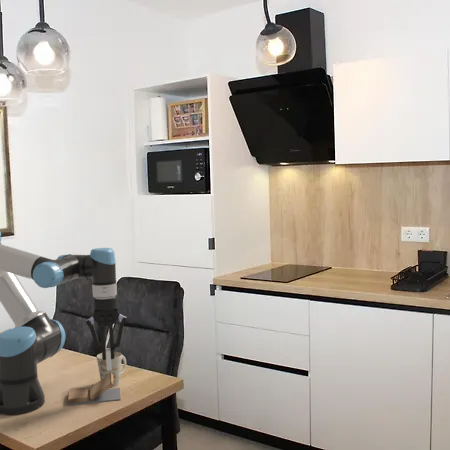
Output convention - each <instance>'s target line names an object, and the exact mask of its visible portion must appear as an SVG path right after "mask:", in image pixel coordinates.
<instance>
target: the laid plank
mask: <svg viewBox="0 0 450 450" xmlns="http://www.w3.org/2000/svg"><path fill="white" fill-rule="evenodd" d="M90 390H91V389H89V387H79V388H69V392H68V398H67V399H68V400H67V404H68V403H78V402H88V401H89V397H90Z"/></svg>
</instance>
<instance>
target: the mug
mask: <svg viewBox="0 0 450 450" xmlns="http://www.w3.org/2000/svg"><path fill="white" fill-rule="evenodd" d="M114 356H115V358H114V359H111V368H112V370H109V371H107V366H106V360H103V359H102V352H101V353H98V354H97V355H96V361H97V367H98V373H99V379H100V380H102V379H103V378H104V377H106V376H107V375H109V374H110V373H112V374H113V382H114V385H113V386H112V387H116V386H118V385H119V384H120V383H121V380H120V379H121V376H122V375H123V374H124V372H126V371H125V370H126V368H127V359H126V357H125V356H124V355H123V354H122V353H121V352H119V351H114ZM122 362H123V366H122ZM112 387H111V388H112Z"/></svg>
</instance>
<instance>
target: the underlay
mask: <svg viewBox="0 0 450 450" xmlns="http://www.w3.org/2000/svg"><path fill="white" fill-rule="evenodd" d="M116 401H118V402H119V401H121V387H114V388H112V387H110V388H109V389H107V390H106V391H104V392H103V393H102V394H100V395H99V396H97V397H96V398H95V399H93V400H92V399H91V398H90V397H89V401H88V402H78V403H68V402H67V405H68V406H73V405H76V406H77V405H86V404H95V403H96V404H97V403H104V402H106V403H108V402H116Z"/></svg>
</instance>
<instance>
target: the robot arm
mask: <svg viewBox="0 0 450 450" xmlns="http://www.w3.org/2000/svg"><path fill="white" fill-rule="evenodd" d="M1 236H2V232H1V231H0V304H1V305H2V307H3V308H4V310H5V311H6V313H7V314H8V317H10V319H11V320H12V322H13V324H14V326H15V327H12V328H8V329H6V330H3V331H2V332H0V415H7V416H8V415H21V414H26V413H30V412H32V411H35V410H37V409H39V408H41V407H42V406H43V405H44V404H45V402H46V399H45V393H44V391H43V388H42V386H41V383H40V381H39V378H38V377H39V376H38V364H39V363H41V362H43V361H44V360H47V359H49V358H51V357H53V356H54V355H56V354H57V353H59V352H60V351H61V349H63V347H64V345H65V344H66V343H65V342H66V332H65V331H66V330H65V329H64V327H63V325H62V324H61V322H59V321H58V320H55V319H52V318H50V317H49V316H48V314H47V313H46V312H45V311H43V310H42V311H41V310H39V309H38V307H37V306H36V305H35V303H34V302H33V300H32V298H31V297H30V295H29V294H28V292H27V291H26V288H24V285H23V284H22V282H21V281H20V279H19V278H18V277H17V276H20V277H21V278H22V277H23V278H26V279H29V280H32V281H33V282H34V283H35V284H36V285H37V286H38V287H39V288H43V289H47V288H54V287H57V286H59V285H61V284H64V283H67V282H70V281H73V280H76V279H91V283H92V285H91V286H92V297H94V298H93V299H92V302H93V305H92V306H93V313H92V316H91V317H89V318H87V319H86V320H85V323H86V325H87V326H88V327H89V329H90V333H91V336H92V340H93V343H94V345H95V346H94V347H95V348H96V350H101V353H102V359H103V360H106V366H107V371H109V370H112V368H111V359H114V358H115V356H114V352H115V349H117V348H119V347H120V346H121V340H122V335H123V329H124V324H125V323H126V321H127V320H128V319H127V316H126V315H123V314H121V313H120V311H119V308H118V306H119V305H118V297H117V295H118V290H117V289H118V288H117V286H118V285H117V277H116V276H117V273H116V270H117V269H116V265H117V261H116V254H115V251H114V249H113V247H112V248H111V247H97V248H92V249H91V250H90V253H89V254H62V255H59V256H58V257H57V258H56V259H52V258H48V257H44V256H42V255H39V254H34V253H32V252H28V251H25V250H22V249H18V248H15V247H11V246H9V245H4V244H2V243H1V242H2V238H1ZM117 320H118V322H119V325H118V329H117V330H118V331H117V334H116V340H115V341H114V338H115V337H114V325H115V323H116V322H117ZM95 322H96V323H97V324H98V325H99V326H100V339H101V340H99V337H98V334H97V331H96V328H95V325H94V324H95ZM106 326H107V327H108V332H109V333H108V335H109V348H107V346H106V345H107V344H106ZM100 341H101V344H100Z"/></svg>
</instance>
